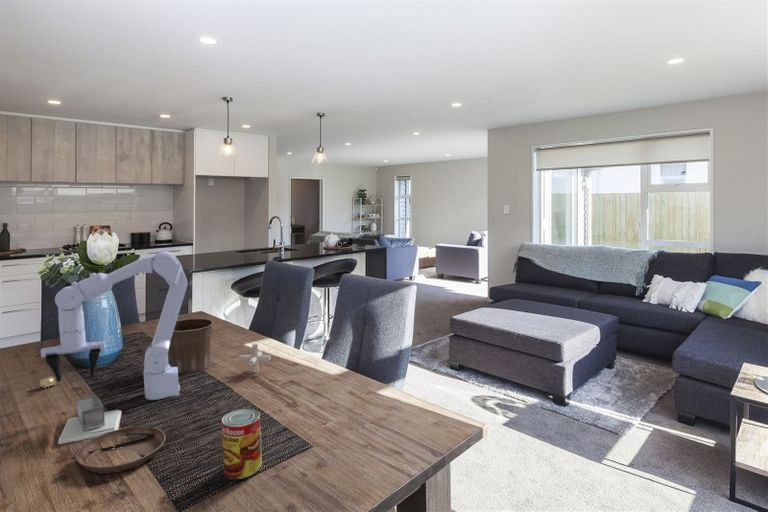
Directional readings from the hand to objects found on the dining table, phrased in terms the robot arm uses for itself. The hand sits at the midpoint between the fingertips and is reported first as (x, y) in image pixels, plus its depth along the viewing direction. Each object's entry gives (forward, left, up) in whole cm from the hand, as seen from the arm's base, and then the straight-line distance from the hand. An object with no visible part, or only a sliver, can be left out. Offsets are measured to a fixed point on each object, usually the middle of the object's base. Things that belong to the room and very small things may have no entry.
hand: (76, 377), depth 124 cm
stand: (-5, +15, -10) cm, 19 cm away
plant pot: (-30, -23, -10) cm, 39 cm away
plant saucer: (-13, +31, -10) cm, 35 cm away
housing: (-5, +15, -7) cm, 17 cm away
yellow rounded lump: (+11, -26, -8) cm, 30 cm away
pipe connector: (-50, -9, -10) cm, 52 cm away
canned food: (-37, +49, -10) cm, 62 cm away
